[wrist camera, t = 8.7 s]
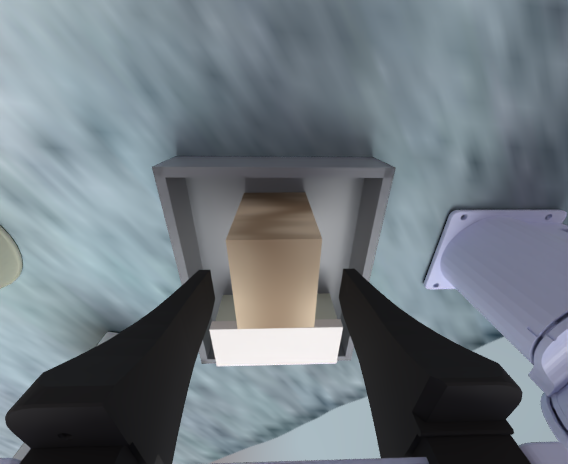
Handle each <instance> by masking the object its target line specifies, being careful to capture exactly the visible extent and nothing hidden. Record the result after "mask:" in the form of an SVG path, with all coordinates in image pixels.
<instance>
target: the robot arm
mask: <svg viewBox="0 0 568 464" xmlns="http://www.w3.org/2000/svg"><path fill="white" fill-rule="evenodd" d="M462 215H464V216H463V217H462V218H461V216H462ZM566 216H567V213H566V212H565V211H563V210H454V211H452V212H451V213H450V215H449V217H448V220H447V222H446V225H445V228H444V230H443V233H442V236H441V238H440V241H439V244H438V246H437V249H436V252H435V254H434V257H433V260H432V262H431V265H430V268H429V270H428V273H427V276H426V278H425V281H424V286H425V288H427V289H457V290H458V291H459V292H460V293H461V294H462V295H463V296H464V297H465V298H466V299H467V300H468V301H469V302H470V303H471V304H472V305H473V306H474V307H475V308H476V309H477V310H478V311H479V312H480V313H481V314H482V315H483V316H484V317H485V318H486V319H487V320H488V321H489V322H490V323H491V324H492V325H493V326H494V327H495V328H496V329H497V330H498V331H499V332H500V333H501V334H502V335H503V336H504V337H505V338H506V339H508V340H509V342H511V344H512V345H514V346H515V347H516V348H517V349H518V350H519V351H520V352H521V353H522V354H523V355H524V356H525V357H526V358H527V359H528V360H529V361H530V362H531V363H532V364H533V365H534V367H533V369H532V371H531V372H530V373H529V374H528V376H529V377H530V378H531V379H532V380H533V381H534V382H535V383H536V384H537V386H539V388H540V389H541V390H542V391H543V392H544V393H543V394H542V397H541V409H542V412H543V415H544V417H545V419H546V421H547V423H548V425H549V427H550V429H551V430H552V432H553V433H554V435H555V437H556V438H557V440H558V441H559V442H531V443H525V444H521V445H519V446H518V445H517V443H516V442H515V441H514V439H513V438H512V437H511V435H512V434H513V433H514V431H513V429H512V427H511V426H510V425H509V423H508V422H507V421H506V418H507V417H508V416H509V415H510V414H511V413H512V412H513V411H514V409H515V408H516V407H517V406H518V405H519V403H520V402H521V399H522V391H521V389H520V387H519V386H518V385H517V384H516V383H515V382H514V380H513V379H512V378H511V377H510V376H509V375H508V374H507V372H506V371H505V370H504V369H503V368H502V367H501V366H500V365H499V364H498V363H496V362H494V361H492V360H490V359H488V358H485V357H483V356H481V355H479V354H477V353H475V352H472V351H470V350H468V349H466V348H464V347H462V346H460V345H458V344H456V343H454V342H453V341H451V340H449V339H447V338H445V337H443V336H442V335H440V334H438V333H436V332H435V331H433V330H431V329H430V328H428V327H426V326H425V325H423V324H422V323H420V322H418V321H417V320H415V319H414V318H413V317H411V316H410V315H408V314H407V313H405V312H404V311H403V310H401V309H400V308H399V307H397V306H396V305H395V304H393V303H392V302H391V301H390V300H388V299H387V298H386V297H385V296H384V295H383V294H381V293H380V292H379V291H378V290H377V289H376V288H375V287H374V286H372V285H371V284H370V283H369V282H368V281H367V280H366V279H365V278H364V277H363V276H362V275H361V274H360V273H359V272H358V271H357V270H355V269H343V273H342V280H341V286H340V292H339V301H340V305H341V310H342V314H343V317H344V320H345V323H346V325H347V328H348V331H349V334H350V337H351V339H352V342H353V345H354V348H355V350H356V353H357V356H358V359H359V363H360V366H361V370H362V374H363V378H364V382H365V386H366V390H367V395H368V399H369V403H370V408H371V412H372V417H373V421H374V426H375V431H376V436H377V440H378V445H379V451H380V456H381V458H378V459H377V458H376V459H344V460H314V461H312V460H311V461H279V462H246V463H214V464H568V226H567V225H564V224H562V222H563V221H564V219H565V218H566ZM214 302H215V294H214V288H213V282H212V277H211V271H210V270H198V271H197V272H196V273H195V274H194V275H193V276H192V277H191V278H189V279H188V280H187V281H186V282H185V283H184V284H183V285H182V286H181V287H180V288H179V289H178V290H176V291H175V292H174V293H173V294H172V295H171V296H170V297H169V298H167V299H166V300H165V301H164V302H162V303H161V304H160V305H159V306H158V307H156V308H155V309H154V310H153V311H151V312H150V313H149V314H147V315H146V316H144V317H143V318H142V319H140V320H139V321H137V322H136V323H134V324H133V325H131V326H130V327H128V328H127V329H125V330H123V331H122V332H120V333H119V334H117V335H115V336H114V337H112V338H111V339H109V340H107V341H105V342H104V343H102V344H100V345H98V346H96V347H94V348H93V349H91V350H89V351H87V352H85V353H83V354H81V355H79V356H77V357H75V358H73V359H71V360H69V361H67V362H65V363H63V364H61V365H58V366H56V367H54V368H52V369H50V370H48V371H46V372H43V373H42V374H41V375H40V377H39V378H38V379H37V380H36V381H35V382H34V383H33V384H32V385H31V387H30V388H29V389H28V390H27V391H26V392H25V393H24V394H23V395H22V397H21V398H20V399H19V400H18V401H17V402H16V403H15V404H14V405H13V407H12V408H11V409H10V410H9V411H8V412H7V414H6V417H5V420H6V425H7V427H8V428H9V429H10V430H11V431H12V432H13V433H14V434H15V435H16V436H17V437H19V438H20V439H21V440H22V441H23V442H24V443H25V444H26V445H28V446H29V447H30V448H31V449H30V450H29V451H28V453H27V454H26V455H25V457H24V458H23V460H22V461H21V460H19V459H15V458H0V464H172V461H173V456H174V451H175V446H176V441H177V436H178V431H179V427H180V422H181V417H182V413H183V408H184V404H185V400H186V396H187V391H188V387H189V383H190V379H191V375H192V371H193V367H194V364H195V361H196V358H197V355H198V352H199V349H200V346H201V344H202V341H203V338H204V335H205V333H206V330H207V327H208V324H209V321H210V319H211V315H212V311H213V307H214Z"/></svg>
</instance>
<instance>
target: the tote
mask: <svg viewBox="0 0 568 464" xmlns="http://www.w3.org/2000/svg"><path fill="white" fill-rule="evenodd" d="M152 169H153V173H154V177H155V181H156V185H157V189H158V193H159V197H160V201H161V205H162V209H163V213H164V217H165V221H166V224H167V228H168V232H169V236H170V240H171V244H172V248H173V252H174V256H175V260H176V264H177V268H178V272H179V276H180V280H181V284H182V285H183V284H184V283H185V282H186V281H187V280H188V279H189V278H191V277H192V276H193V275H194V274H195V273H196V272H197V271H198V270H210V271H211V277H212V282H213V288H214V294H215V302H214V307H213V311H212V315H211V319H210V321H209V324H208V327H207V330H206V333H205V335H204V338H203V341H202V344H201V346H200V349H199V354H200V358H201V362H202V364H209V363H216V360H215V355H214V350H213V345H212V340H211V335H210V331H209V329H210V326H211V323H212V321H215V320H216V317H217V313H218V310H219V307H220V303H221V300H222V296H223V295H233V291H232V284H231V276H230V269H229V262H228V254H227V247H226V238H227V235H228V233H229V230H230V228H231V225H232V223H233V220H234V218H235V215H236V212H237V210H238V207H239V205H240V202H241V200H242V197H243V195H244V193H282V192H305V193H306V195H307V198H308V201H309V204H310V207H311V209H312V212H313V215H314V218H315V220H316V223H317V226H318V229H319V231H320V234H321V237H322V246H321V257H320V268H319V279H318V290H317V294H323V293H330V296H331V299H332V303H333V306H334V310H335V313H336V316H337V319H341V322H342V325H343V330H342V336H341V341H340V346H339V352H338V357H337V361H339V360H351V357H352V353H353V349H354V345H353V342H352V339H351V337H350V334H349V331H348V328H347V325H346V323H345V320H344V317H343V314H342V310H341V305H340V301H339V292H340V286H341V280H342V273H343V269H355V270H357V271H358V272H359V273H360V274H361V275H362V276H363V277H364V278H365V279H366V280H367V281H368V282H369V280H370V276H371V271H372V267H373V263H374V258H375V254H376V250H377V245H378V241H379V237H380V232H381V228H382V224H383V220H384V215H385V211H386V207H387V202H388V198H389V194H390V189H391V185H392V181H393V176H394V172H395V167H393V166H391V165H389V164H387V163H385V162H382V161H380V160H378V159H376V158H374V157H239V156H175V157H173V158H171V159H168V160H166V161H164V162H162V163H159V164H157V165H155V166H153V167H152Z"/></svg>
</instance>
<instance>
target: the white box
mask: <svg viewBox="0 0 568 464" xmlns="http://www.w3.org/2000/svg"><path fill="white" fill-rule="evenodd" d="M342 330H343V325H342V322H341V319H337V316H336V313H335V310H334V306H333V303H332V299H331V296H330V293H323V294H317V301H316V312H315V324H314V327H308V328H266V329H238V328H237V321H236V314H235V306H234V299H233V295H223V296H222V300H221V303H220V307H219V310H218V313H217V317H216V320H215V321H212V323H211V326H210V329H209V331H210V335H211V340H212V345H213V350H214V355H215V360H216V364H217V366H249V365H292V364H335V363H336V362H337V357H338V352H339V346H340V341H341V336H342Z"/></svg>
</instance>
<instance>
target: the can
mask: <svg viewBox="0 0 568 464" xmlns="http://www.w3.org/2000/svg"><path fill="white" fill-rule="evenodd" d="M21 271H22V257H21V254H20V251H19V249H18V247H17V245H16V244H15V242H14V241H13V239H12V238H11V237H10V235H9V234H8V233H7V232H6V231H5V230H4V229H3V228H2V227H1V226H0V289H1V288H3V287H5V286H8V285H9V284H11V283H13V282H14V281H15V280H16V279H17V278H18V277H19V275H20V273H21Z"/></svg>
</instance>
